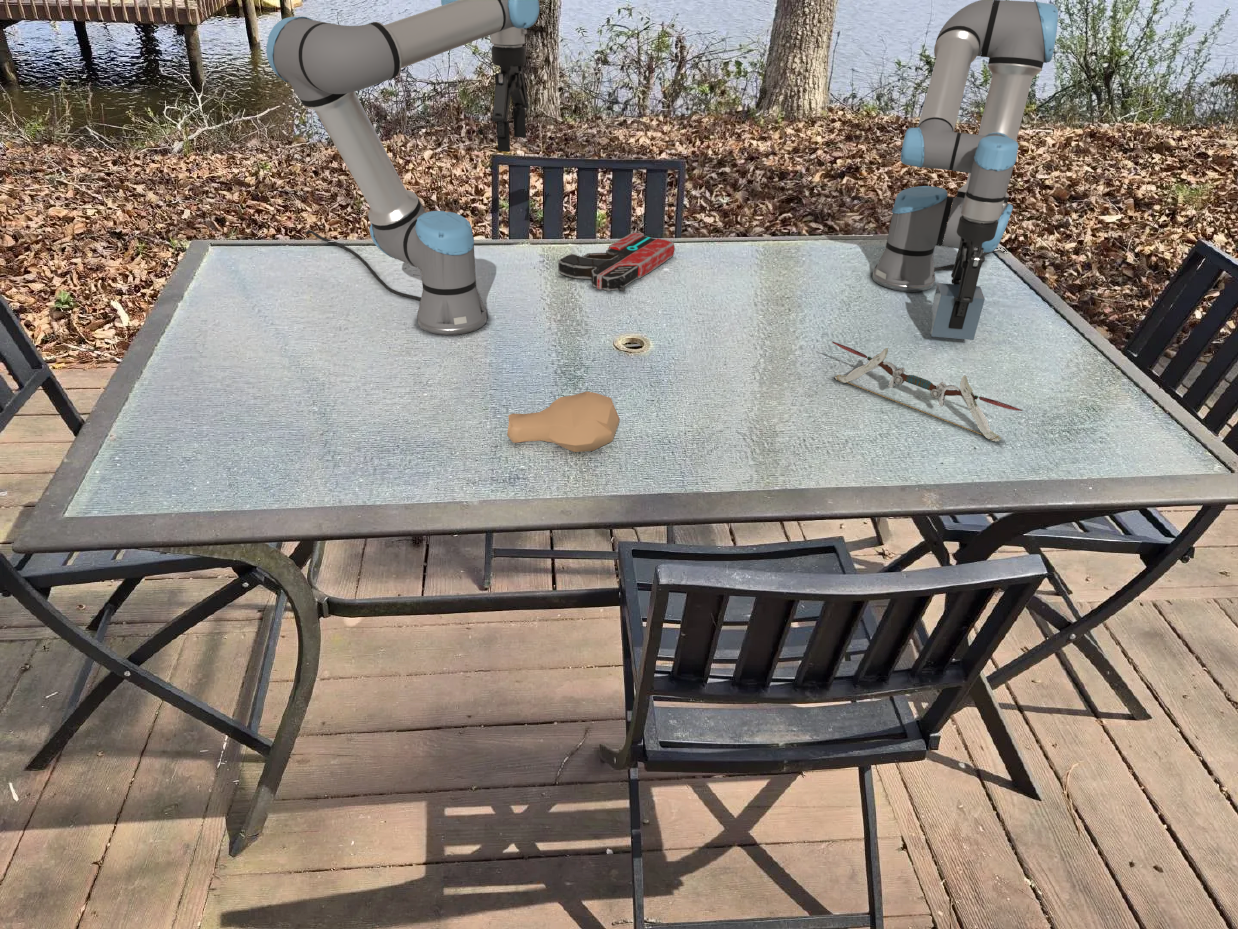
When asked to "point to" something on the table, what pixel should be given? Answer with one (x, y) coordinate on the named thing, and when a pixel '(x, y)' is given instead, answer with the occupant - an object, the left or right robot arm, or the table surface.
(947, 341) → the table surface
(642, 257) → the gun
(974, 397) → the bow
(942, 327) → the grey rectangular block
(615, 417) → the squash
